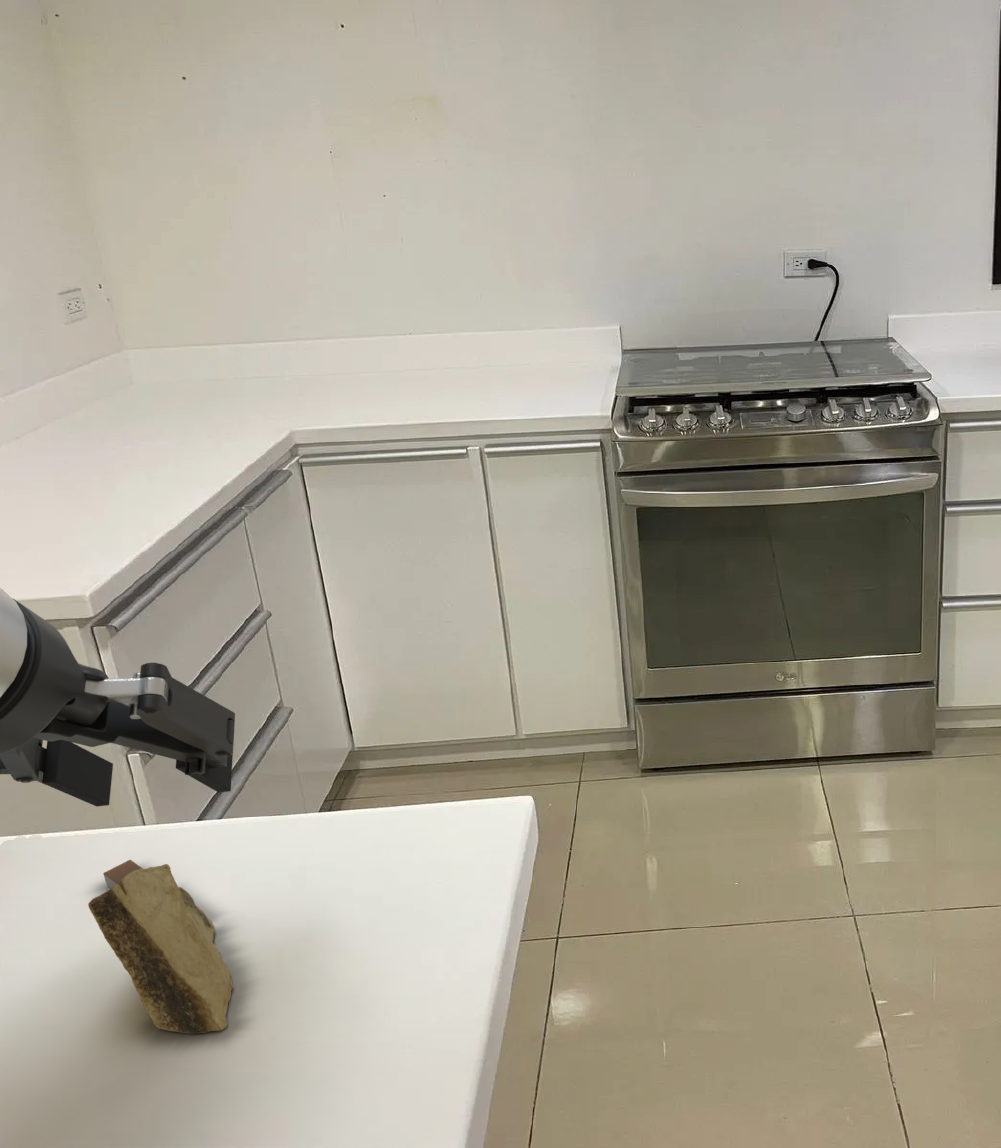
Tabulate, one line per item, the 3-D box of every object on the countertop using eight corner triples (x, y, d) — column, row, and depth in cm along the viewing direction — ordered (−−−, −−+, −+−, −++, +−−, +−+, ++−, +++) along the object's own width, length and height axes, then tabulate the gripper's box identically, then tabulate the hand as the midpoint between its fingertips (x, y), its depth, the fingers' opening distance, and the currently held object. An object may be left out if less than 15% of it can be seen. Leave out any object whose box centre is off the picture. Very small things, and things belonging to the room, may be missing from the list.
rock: (141, 897, 78) (37, 982, 68) (195, 807, 76) (96, 882, 66) (273, 982, 78) (188, 1079, 69) (330, 895, 76) (252, 983, 67)
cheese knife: (104, 887, 83) (99, 874, 82) (137, 870, 85) (133, 857, 84) (170, 938, 77) (165, 924, 77) (203, 919, 79) (199, 905, 78)
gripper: (-308, 766, 49) (-5, 856, 70) (166, 714, 51) (322, 817, 72) (-269, 606, 51) (11, 739, 72) (178, 564, 54) (324, 705, 75)
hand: (165, 777), depth 72 cm, fingers open, 7 cm apart
